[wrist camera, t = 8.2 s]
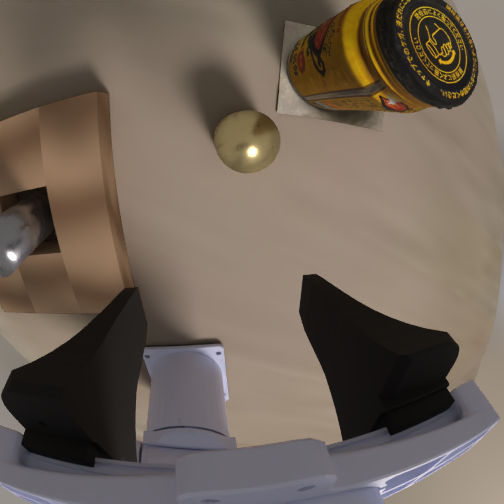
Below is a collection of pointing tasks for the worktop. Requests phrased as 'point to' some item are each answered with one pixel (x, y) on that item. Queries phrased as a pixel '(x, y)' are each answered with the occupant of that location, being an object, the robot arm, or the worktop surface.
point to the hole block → (66, 207)
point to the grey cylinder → (24, 230)
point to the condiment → (377, 62)
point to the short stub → (247, 141)
